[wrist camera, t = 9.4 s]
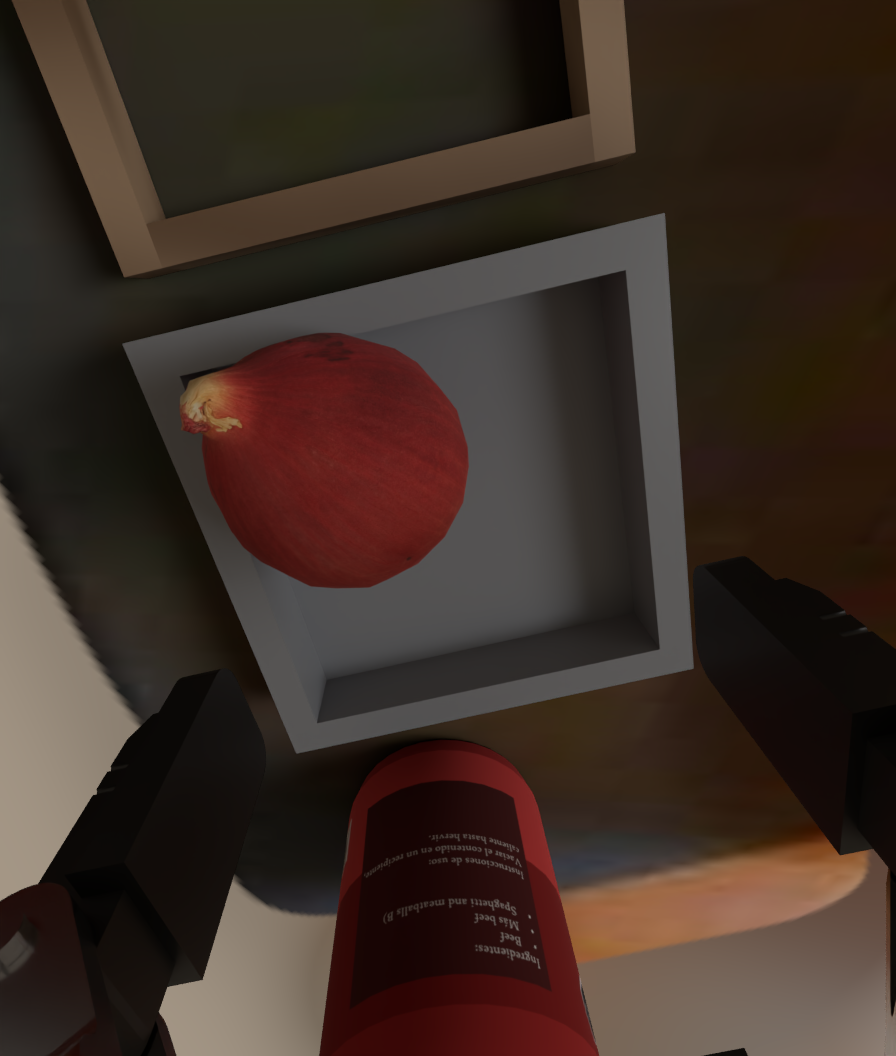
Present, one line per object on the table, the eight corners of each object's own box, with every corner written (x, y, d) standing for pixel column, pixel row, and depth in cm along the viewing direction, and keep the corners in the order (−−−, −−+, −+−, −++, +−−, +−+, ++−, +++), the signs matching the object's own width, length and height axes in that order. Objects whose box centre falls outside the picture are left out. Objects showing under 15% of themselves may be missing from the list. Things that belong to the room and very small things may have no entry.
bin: (171, 334, 16) (122, 343, 14) (621, 226, 16) (664, 213, 13) (311, 693, 21) (296, 753, 19) (656, 618, 21) (693, 668, 18)
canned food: (436, 897, 26) (450, 1284, 16) (309, 802, 23) (230, 1192, 13) (573, 812, 24) (685, 1180, 14) (453, 699, 22) (488, 1053, 12)
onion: (337, 471, 19) (92, 349, 13) (483, 380, 17) (279, 174, 10) (372, 637, 17) (90, 594, 10) (549, 556, 14) (335, 432, 8)
